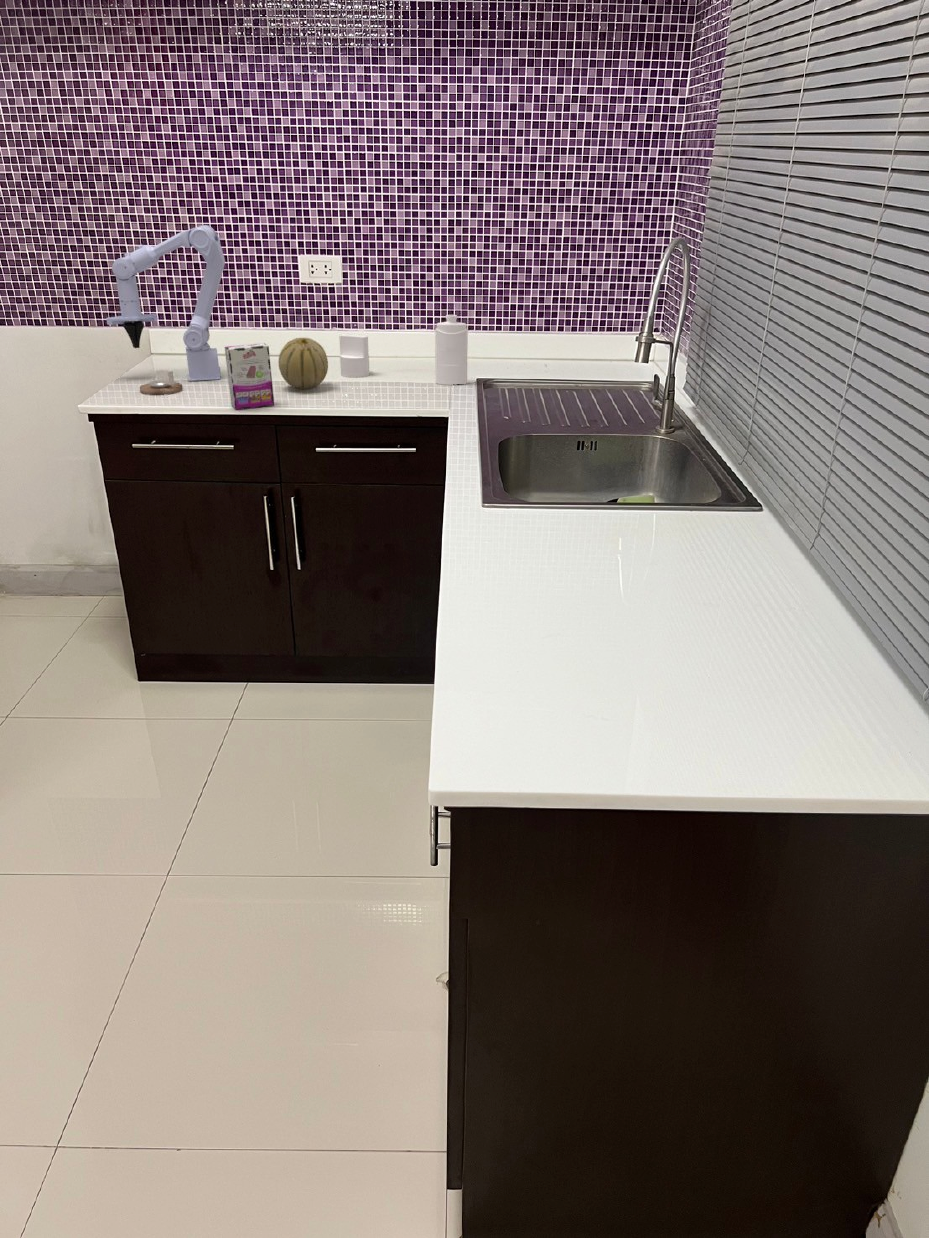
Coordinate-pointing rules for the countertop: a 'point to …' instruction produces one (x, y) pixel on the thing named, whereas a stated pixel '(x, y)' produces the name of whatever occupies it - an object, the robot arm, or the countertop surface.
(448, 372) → the squeeze bottle
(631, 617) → the countertop surface
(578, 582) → the countertop surface
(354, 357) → the cylinder with rectangular tab
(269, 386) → the candy bar box
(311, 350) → the cantaloupe
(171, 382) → the dial
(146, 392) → the base
